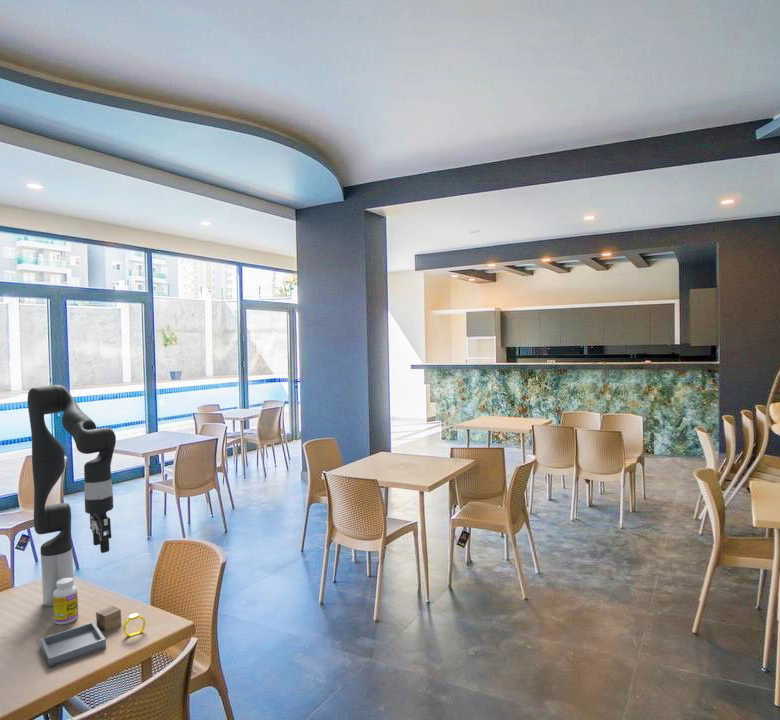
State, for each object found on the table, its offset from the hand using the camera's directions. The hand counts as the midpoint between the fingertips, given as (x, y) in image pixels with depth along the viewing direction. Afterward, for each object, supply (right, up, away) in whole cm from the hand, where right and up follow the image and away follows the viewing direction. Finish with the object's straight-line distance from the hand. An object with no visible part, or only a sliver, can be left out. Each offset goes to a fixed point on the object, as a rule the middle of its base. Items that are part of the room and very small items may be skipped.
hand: (101, 548), depth 164 cm
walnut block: (0, -26, +5) cm, 27 cm away
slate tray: (-5, -27, -7) cm, 28 cm away
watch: (+10, -26, 0) cm, 28 cm away
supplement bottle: (-16, -27, +10) cm, 33 cm away
